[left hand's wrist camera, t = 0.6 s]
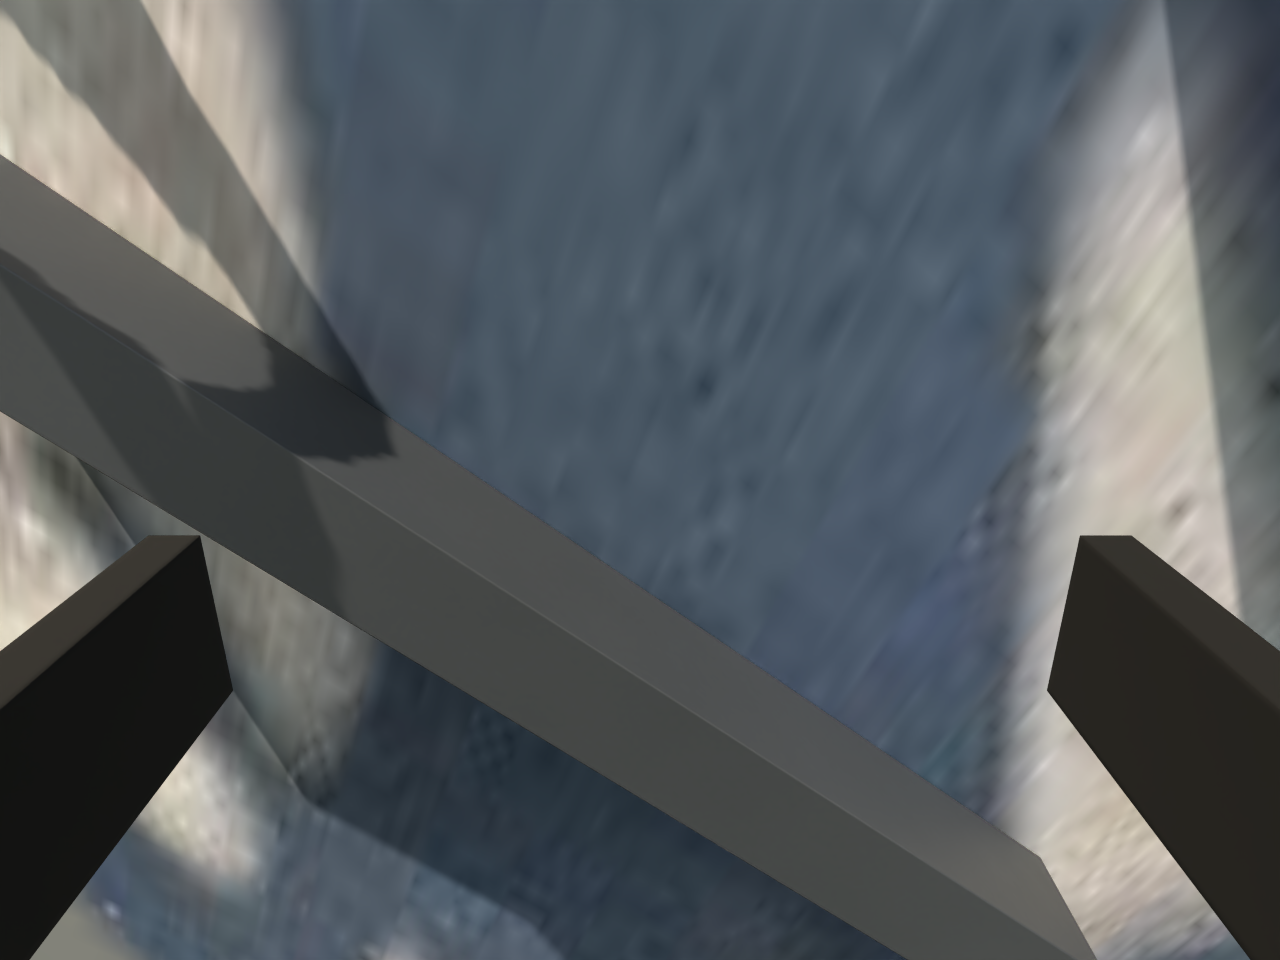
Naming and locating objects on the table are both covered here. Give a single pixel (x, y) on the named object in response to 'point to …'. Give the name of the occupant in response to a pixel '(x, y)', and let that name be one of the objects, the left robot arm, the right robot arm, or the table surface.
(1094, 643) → the left robot arm
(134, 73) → the table surface
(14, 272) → the beam
